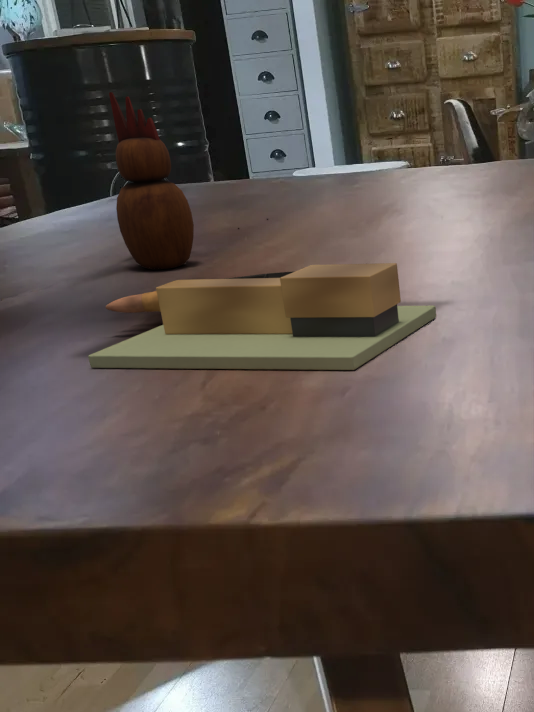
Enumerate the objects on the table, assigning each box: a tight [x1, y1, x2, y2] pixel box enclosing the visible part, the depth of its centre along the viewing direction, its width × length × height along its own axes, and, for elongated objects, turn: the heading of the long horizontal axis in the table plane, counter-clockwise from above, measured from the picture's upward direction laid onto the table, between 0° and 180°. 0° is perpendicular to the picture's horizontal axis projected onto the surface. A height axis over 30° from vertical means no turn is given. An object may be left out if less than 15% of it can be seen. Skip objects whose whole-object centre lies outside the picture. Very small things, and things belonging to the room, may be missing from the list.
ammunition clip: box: [105, 270, 296, 314], centre depth 79 cm, size 11×2×12 cm
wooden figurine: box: [108, 91, 195, 271], centre depth 101 cm, size 7×6×15 cm
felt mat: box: [87, 305, 437, 371], centre depth 71 cm, size 18×14×1 cm
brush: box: [155, 262, 402, 337], centre depth 70 cm, size 16×4×4 cm, turn 72°
